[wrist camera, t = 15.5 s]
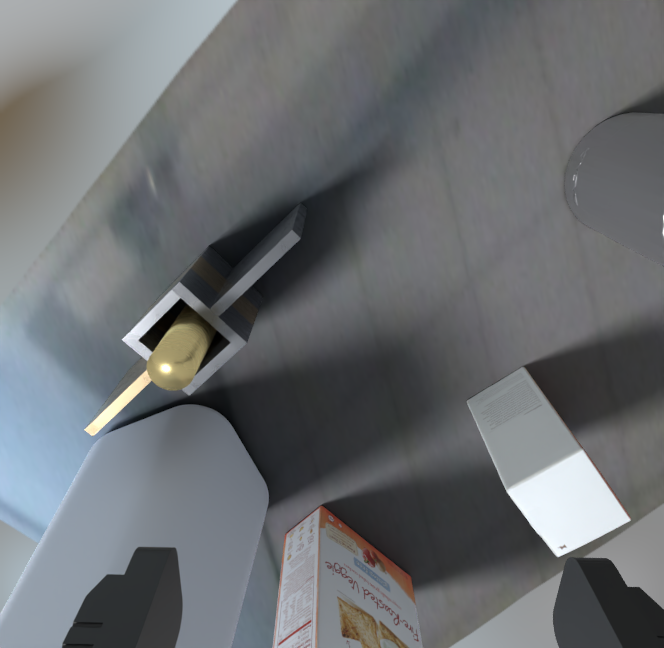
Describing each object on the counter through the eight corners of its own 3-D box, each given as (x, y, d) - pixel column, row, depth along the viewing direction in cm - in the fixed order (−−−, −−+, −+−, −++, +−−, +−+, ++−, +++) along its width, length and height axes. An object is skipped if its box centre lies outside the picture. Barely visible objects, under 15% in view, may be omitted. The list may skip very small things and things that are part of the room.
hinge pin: (231, 278, 47) (192, 348, 34) (233, 310, 48) (196, 391, 35) (196, 277, 47) (144, 347, 34) (199, 309, 48) (149, 389, 35)
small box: (565, 423, 52) (634, 522, 40) (507, 456, 54) (557, 561, 42) (523, 363, 50) (584, 448, 38) (464, 399, 51) (504, 492, 39)
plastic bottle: (76, 439, 53) (-167, 767, 27) (214, 385, 51) (92, 688, 25) (156, 548, 58) (16, 908, 33) (284, 504, 56) (242, 854, 30)
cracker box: (414, 572, 60) (452, 801, 40) (373, 600, 61) (392, 833, 42) (323, 499, 56) (318, 714, 37) (282, 532, 57) (257, 753, 38)
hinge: (276, 177, 43) (261, 198, 34) (330, 233, 45) (329, 267, 36) (104, 351, 49) (54, 407, 40) (158, 394, 51) (121, 457, 42)
